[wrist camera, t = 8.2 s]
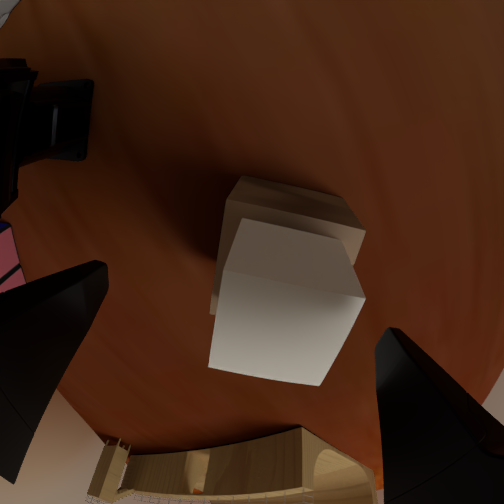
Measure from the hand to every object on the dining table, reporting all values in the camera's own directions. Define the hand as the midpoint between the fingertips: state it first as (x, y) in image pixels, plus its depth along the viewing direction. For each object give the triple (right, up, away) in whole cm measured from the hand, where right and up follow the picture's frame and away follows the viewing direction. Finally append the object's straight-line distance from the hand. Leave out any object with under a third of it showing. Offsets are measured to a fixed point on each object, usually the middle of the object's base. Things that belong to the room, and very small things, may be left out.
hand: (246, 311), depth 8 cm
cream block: (+2, +1, +7) cm, 7 cm away
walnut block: (+2, +3, +12) cm, 13 cm away
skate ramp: (-2, -38, +34) cm, 51 cm away
